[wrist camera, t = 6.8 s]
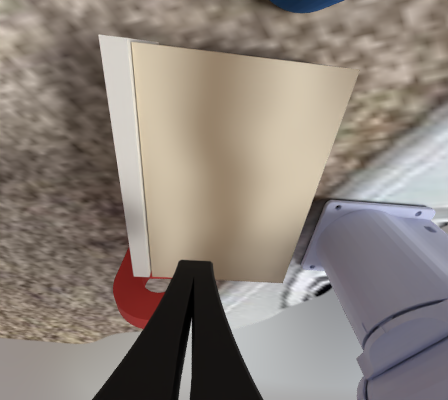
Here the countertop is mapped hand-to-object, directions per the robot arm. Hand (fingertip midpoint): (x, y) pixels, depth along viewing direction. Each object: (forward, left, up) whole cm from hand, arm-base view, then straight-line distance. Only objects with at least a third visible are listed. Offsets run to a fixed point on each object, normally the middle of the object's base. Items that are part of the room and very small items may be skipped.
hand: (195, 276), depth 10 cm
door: (+4, -2, -9) cm, 10 cm away
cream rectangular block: (-1, -2, -9) cm, 10 cm away
